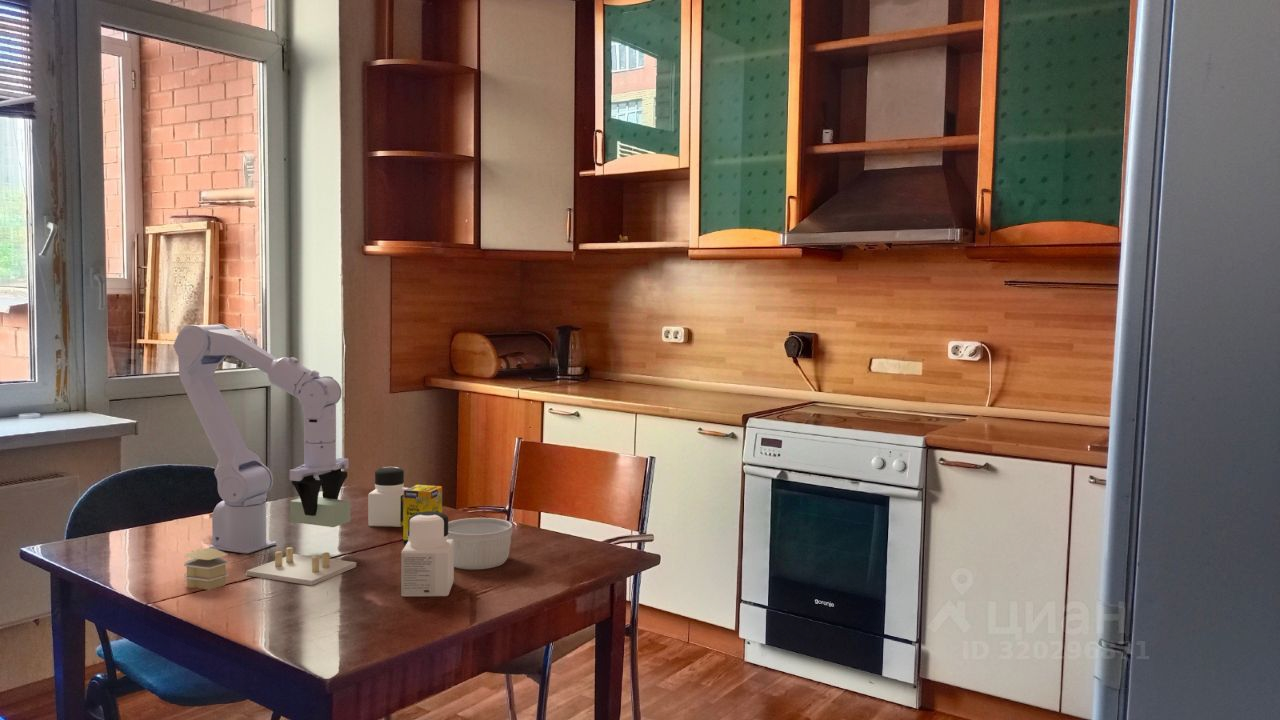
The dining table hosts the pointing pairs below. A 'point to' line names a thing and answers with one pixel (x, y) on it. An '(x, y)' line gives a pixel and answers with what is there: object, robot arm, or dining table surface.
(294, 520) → the rectangular block
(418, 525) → the container
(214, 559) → the beige tiered box
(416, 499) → the supplement box
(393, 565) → the dining table surface
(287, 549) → the cream peg board
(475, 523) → the ramekin
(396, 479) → the medicine bottle
